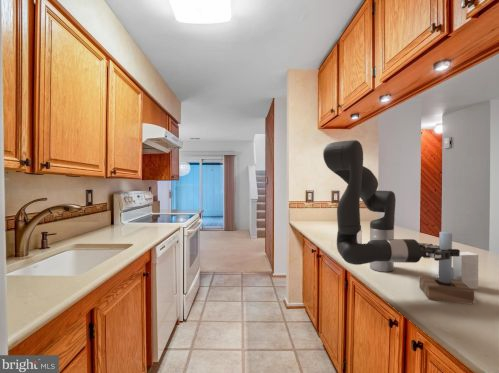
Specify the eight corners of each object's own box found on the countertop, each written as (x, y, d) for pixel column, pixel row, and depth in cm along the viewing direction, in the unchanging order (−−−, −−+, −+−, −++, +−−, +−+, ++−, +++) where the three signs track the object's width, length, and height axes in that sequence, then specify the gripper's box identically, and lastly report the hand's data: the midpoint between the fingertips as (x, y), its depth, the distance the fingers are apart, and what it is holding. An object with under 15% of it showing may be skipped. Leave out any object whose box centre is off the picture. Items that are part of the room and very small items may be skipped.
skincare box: (468, 284, 99) (468, 251, 98) (478, 289, 95) (479, 254, 94) (451, 284, 99) (452, 251, 98) (461, 289, 94) (462, 255, 94)
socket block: (419, 287, 96) (419, 276, 96) (459, 291, 93) (459, 279, 93) (428, 299, 87) (428, 287, 87) (473, 304, 83) (474, 291, 83)
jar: (351, 243, 159) (351, 223, 159) (364, 246, 153) (364, 225, 153) (342, 246, 154) (342, 225, 154) (355, 249, 148) (355, 227, 147)
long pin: (436, 278, 92) (437, 231, 91) (448, 279, 91) (449, 232, 90) (440, 282, 89) (441, 233, 88) (453, 283, 88) (454, 234, 87)
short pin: (440, 284, 99) (440, 265, 98) (451, 285, 98) (451, 266, 97) (443, 288, 95) (444, 268, 95) (455, 289, 94) (455, 269, 94)
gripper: (413, 244, 83) (471, 245, 82) (390, 234, 97) (440, 235, 96) (412, 269, 83) (470, 269, 82) (390, 255, 97) (440, 256, 96)
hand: (454, 251), depth 89 cm, fingers closed on long pin, 3 cm apart
